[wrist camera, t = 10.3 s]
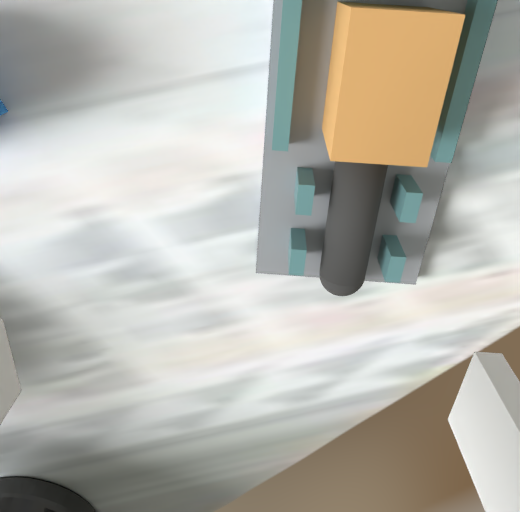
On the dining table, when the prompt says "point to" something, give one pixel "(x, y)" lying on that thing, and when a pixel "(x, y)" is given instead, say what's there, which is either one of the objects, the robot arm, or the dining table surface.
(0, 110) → the perfume bottle
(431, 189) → the teal block plate
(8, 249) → the dining table surface
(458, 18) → the orange cube-head hammer
